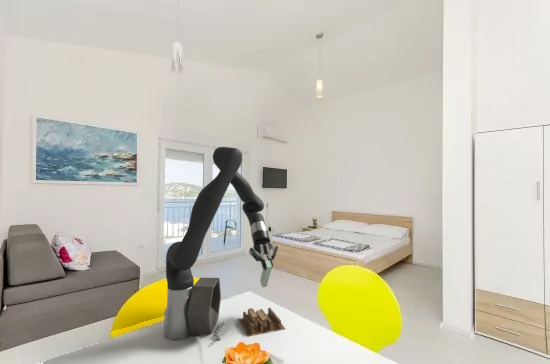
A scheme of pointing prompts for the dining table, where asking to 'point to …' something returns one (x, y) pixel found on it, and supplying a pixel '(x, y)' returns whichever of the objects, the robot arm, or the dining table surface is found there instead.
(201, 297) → the planter
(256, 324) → the offcut
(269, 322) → the rack
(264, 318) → the offcut
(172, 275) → the robot arm
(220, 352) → the dining table surface
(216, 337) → the white statue
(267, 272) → the pale green block
